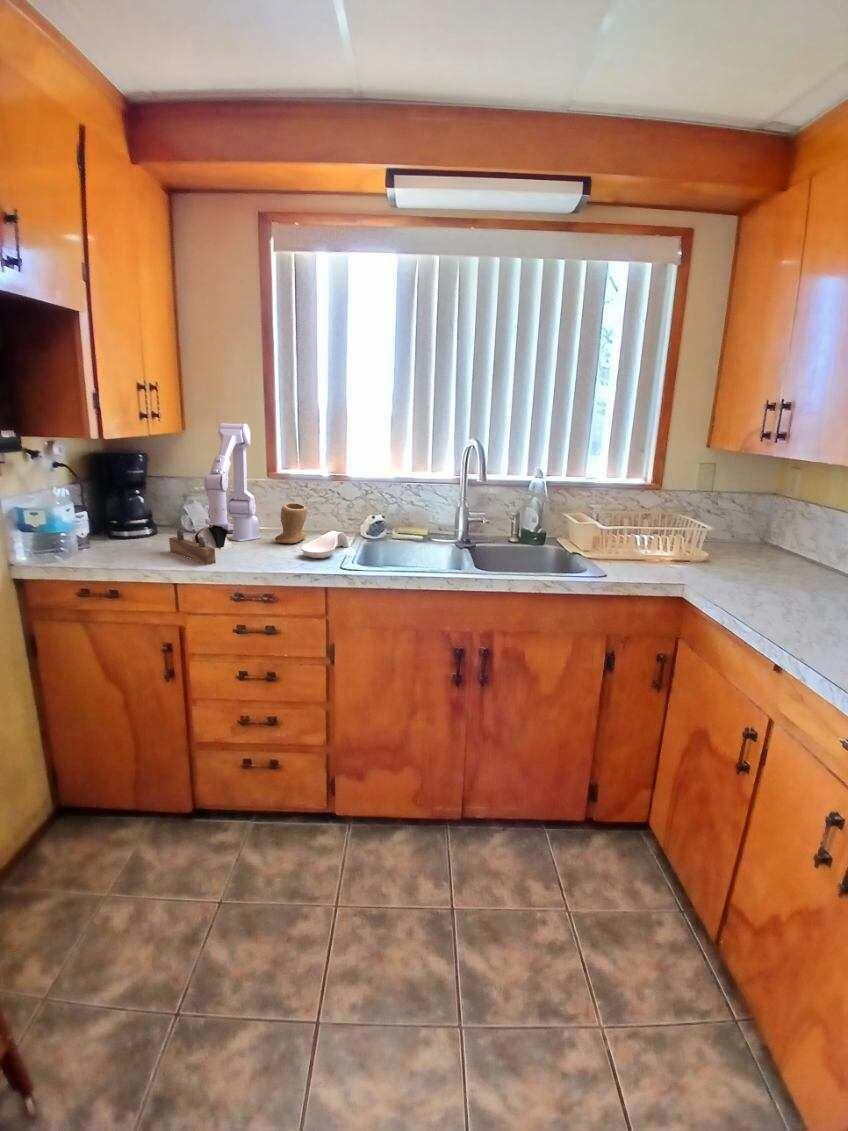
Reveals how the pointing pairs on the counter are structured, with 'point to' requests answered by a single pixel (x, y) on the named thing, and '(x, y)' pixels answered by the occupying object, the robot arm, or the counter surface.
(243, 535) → the robot arm
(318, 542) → the spoon rest
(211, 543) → the white curved piece
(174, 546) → the stop fence
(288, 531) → the brown boot vase
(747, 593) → the counter surface
